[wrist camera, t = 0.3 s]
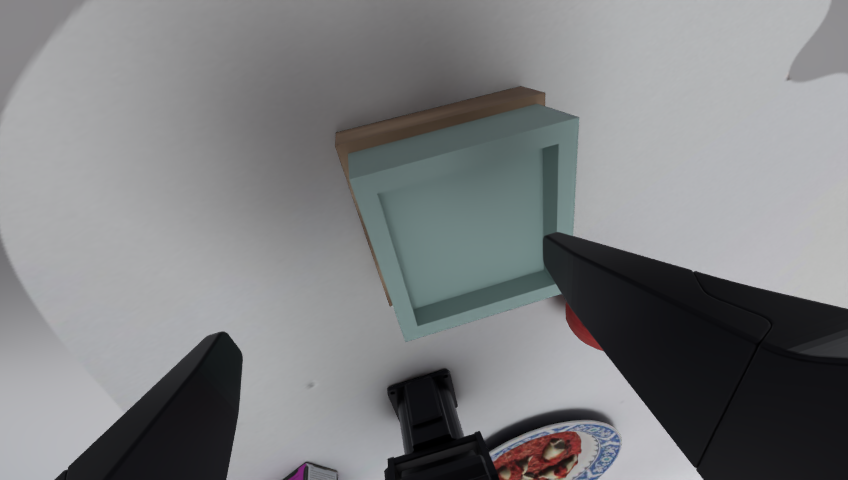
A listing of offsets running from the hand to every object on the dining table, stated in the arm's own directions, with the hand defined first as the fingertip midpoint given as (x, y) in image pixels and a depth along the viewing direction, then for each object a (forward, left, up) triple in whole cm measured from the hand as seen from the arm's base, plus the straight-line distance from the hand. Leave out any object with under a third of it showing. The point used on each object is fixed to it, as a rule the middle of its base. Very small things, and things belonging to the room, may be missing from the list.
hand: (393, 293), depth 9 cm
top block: (-5, -5, -11) cm, 13 cm away
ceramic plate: (-51, -11, -15) cm, 54 cm away
